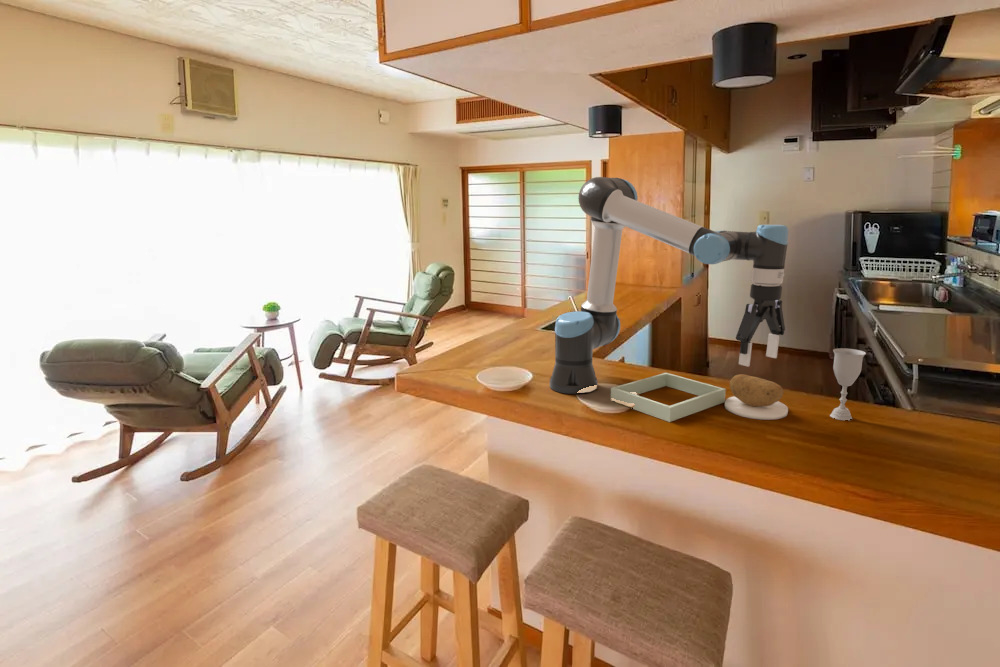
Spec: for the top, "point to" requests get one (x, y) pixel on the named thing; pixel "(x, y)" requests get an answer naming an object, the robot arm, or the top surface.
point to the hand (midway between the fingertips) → (758, 361)
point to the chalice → (846, 376)
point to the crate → (705, 392)
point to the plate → (756, 409)
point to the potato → (755, 390)
